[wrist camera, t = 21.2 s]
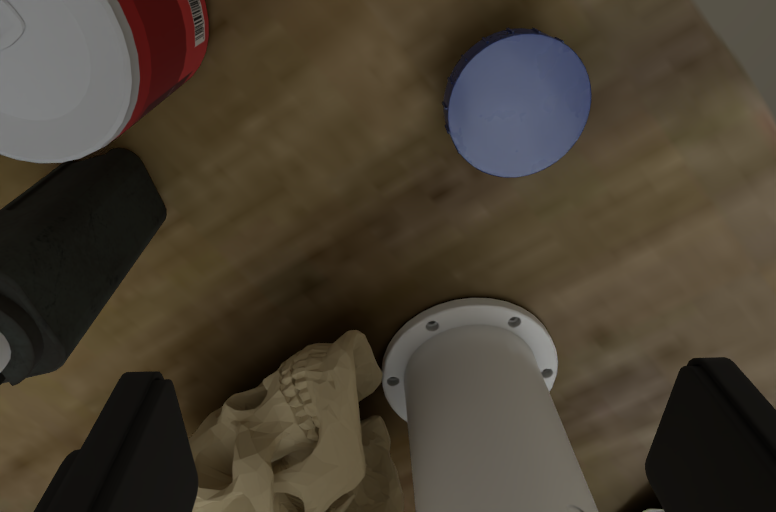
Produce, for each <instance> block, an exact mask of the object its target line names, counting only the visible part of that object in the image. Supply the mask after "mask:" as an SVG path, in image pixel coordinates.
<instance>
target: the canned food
mask: <svg viewBox="0 0 776 512" xmlns="http://www.w3.org/2000/svg"><path fill="white" fill-rule="evenodd" d="M208 38H209V19H208V14H207V9H206V4H205V0H0V154H1V155H4V156H7V157H10V158H13V159H17V160H23V161H29V162H35V163H62V162H66V161H71V160H75V159H80V158H82V157H84V156H86V155H89V154H91V153H93V152H95V151H97V150H99V149H101V148H103V147H105V146H107V145H108V144H109V143H110V142H112V141H113V140H114V139H116V138H118V137H119V136H120V135H121V134H123V133H124V132H125V131H126V130H127V129H129V128H130V127H131V126H132V125H134V124H135V123H136V122H137V121H138V120H140V119H141V118H142V117H143V116H145V115H146V114H147V113H148V112H149V111H151V110H152V109H153V108H154V107H156V106H157V105H158V104H159V103H160V102H162V101H163V100H164V99H165V98H167V97H168V96H169V95H170V94H171V93H173V92H174V91H175V90H176V89H178V88H179V87H180V86H181V85H182V84H184V83H185V82H186V81H187V80H188V79H190V78H191V77H192V76H193V75H194V73H195V72H196V70H197V69H198V68H199V66H200V65H201V62H202V60H203V58H204V55H205V53H206V49H207V43H208Z"/></svg>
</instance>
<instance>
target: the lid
mask: <svg viewBox="0 0 776 512" xmlns="http://www.w3.org/2000/svg"><path fill="white" fill-rule="evenodd" d="M506 29H507V30H503V31H500V32H497V33H494V34H492V35H490V36H487V37H485V38H484V37H482V40H481V41H479V42H477V43H476V44H475V45H474V46H472V47H471V48H470V49H469V50H468V51H467V52H466V53H465V54H464V55H463V54H462V55H461V59H460V60H459V61H458V63H457V64H456V66H455V67H454V69H453V71H452V73H451V75H450V77H448V78H447V79H448V82H447V85H446V89H445V94H444V101H442V105H443V110H444V119H445V123H446V125H445V128H446V130H447V133H448V134H450V136H451V138H452V141H453V143H454V145H455V147H456V149H457V152H458V153H459V154H461V155H462V157H463V158H464V159H465V160H466V161H467V162H468V163H469V164H471V165H472V166H473V167H475V168H476V169H478V170H480V171H482V172H484V173H487V174H490V175H494V176H498V177H507V178H508V177H521V176H527V175H530V174H534V173H536V172H539V171H541V170H543V169H545V168H547V167H549V166H551V165H552V164H554V163H555V162H557V161H558V160H559V159H560V158H562V157H563V156H564V155H565V154H566V153H567V152H568V151H569V150H570V149H571V148H572V146H573V145H574V144H575V142H576V141H577V140H578V138H579V136H580V135H581V133H582V131H583V129H584V127H585V124H586V122H587V119H588V115H589V111H590V106H591V85H590V81H589V76H588V74H587V71H586V68H585V66H584V65H583V63H582V61H581V59H580V58H579V57H578V56H577V54H576V53H575V52H574V51H573V50H572V49H571V48H570V47H568V46H567V45H566V44H564V41H563V40H561V39H559V38H557V37H555V38H553V37H551V36H549V35H547V34H545V33H543V32H541V31H539V30H537V29H535V28H532V29H525V28H517V29H510V28H506Z"/></svg>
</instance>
